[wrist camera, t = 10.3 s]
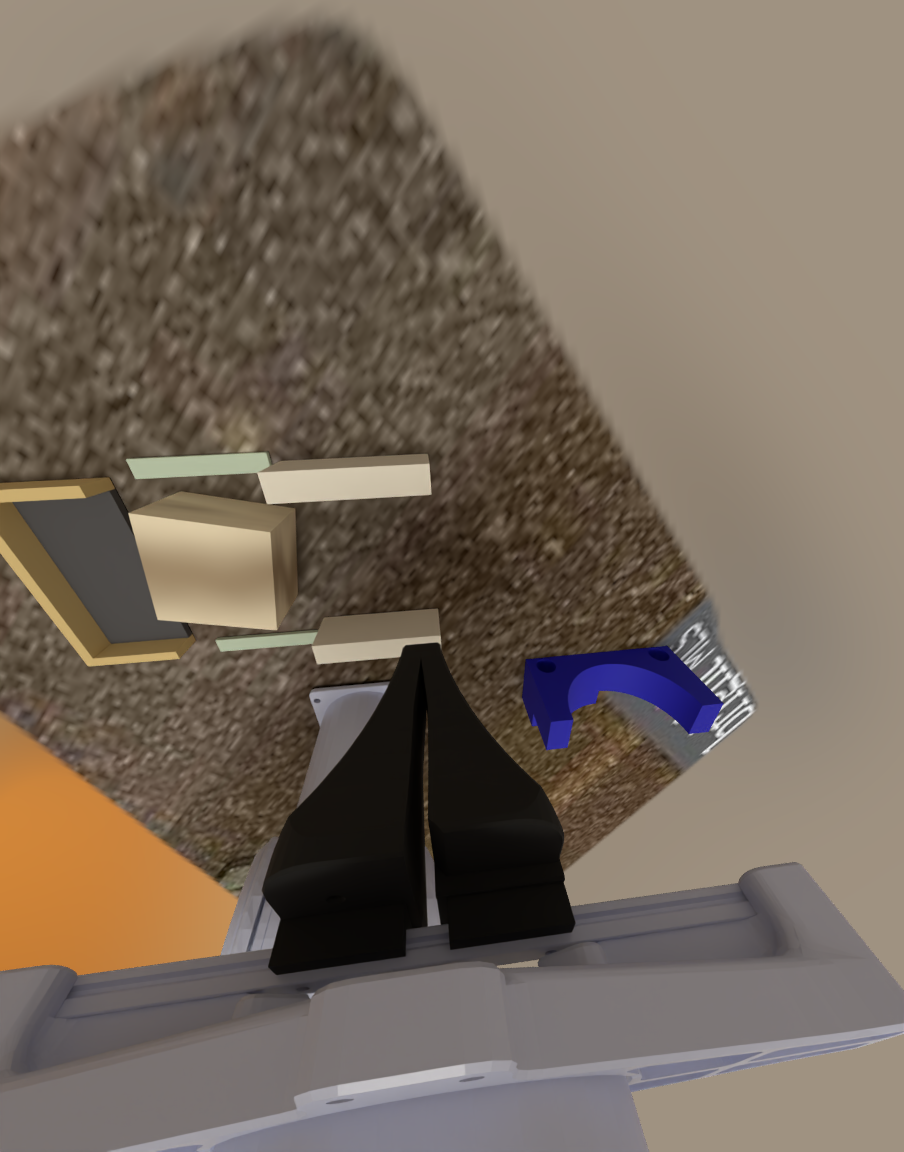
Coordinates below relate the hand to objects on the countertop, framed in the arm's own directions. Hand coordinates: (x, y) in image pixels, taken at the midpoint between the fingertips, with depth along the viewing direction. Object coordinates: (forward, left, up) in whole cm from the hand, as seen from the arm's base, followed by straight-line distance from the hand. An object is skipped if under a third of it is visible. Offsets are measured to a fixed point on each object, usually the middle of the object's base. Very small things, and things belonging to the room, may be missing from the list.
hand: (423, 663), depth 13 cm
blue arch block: (-12, -14, -10) cm, 21 cm away
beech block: (+1, +11, -10) cm, 15 cm away
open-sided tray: (0, +19, -10) cm, 21 cm away
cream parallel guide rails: (0, +3, -10) cm, 10 cm away
